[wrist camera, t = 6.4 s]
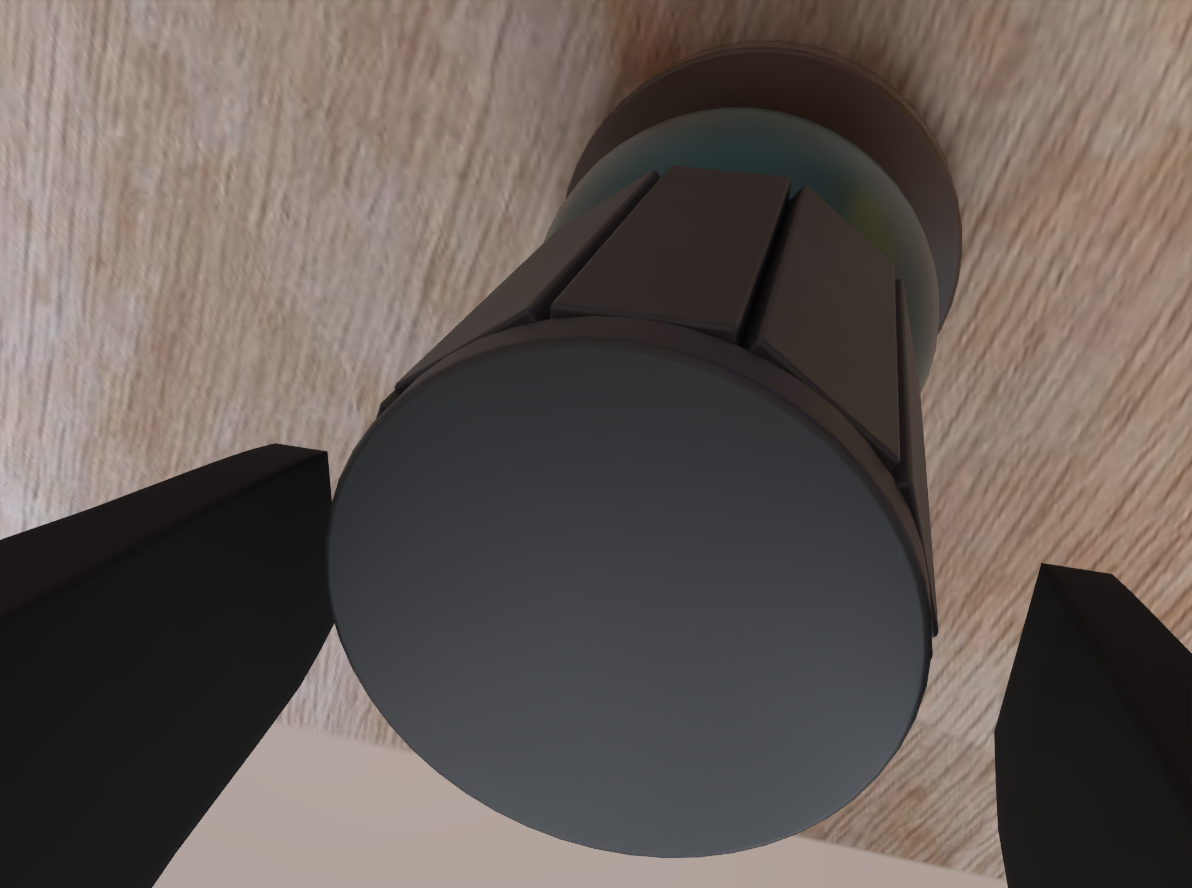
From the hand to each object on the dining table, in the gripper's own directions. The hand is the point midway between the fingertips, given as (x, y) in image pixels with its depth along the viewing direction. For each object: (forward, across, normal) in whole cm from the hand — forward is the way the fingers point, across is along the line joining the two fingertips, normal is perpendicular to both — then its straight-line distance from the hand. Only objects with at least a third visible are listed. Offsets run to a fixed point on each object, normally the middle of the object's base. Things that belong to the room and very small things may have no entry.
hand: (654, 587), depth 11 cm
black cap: (+4, 0, -1) cm, 4 cm away
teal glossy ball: (+10, 0, -1) cm, 10 cm away
